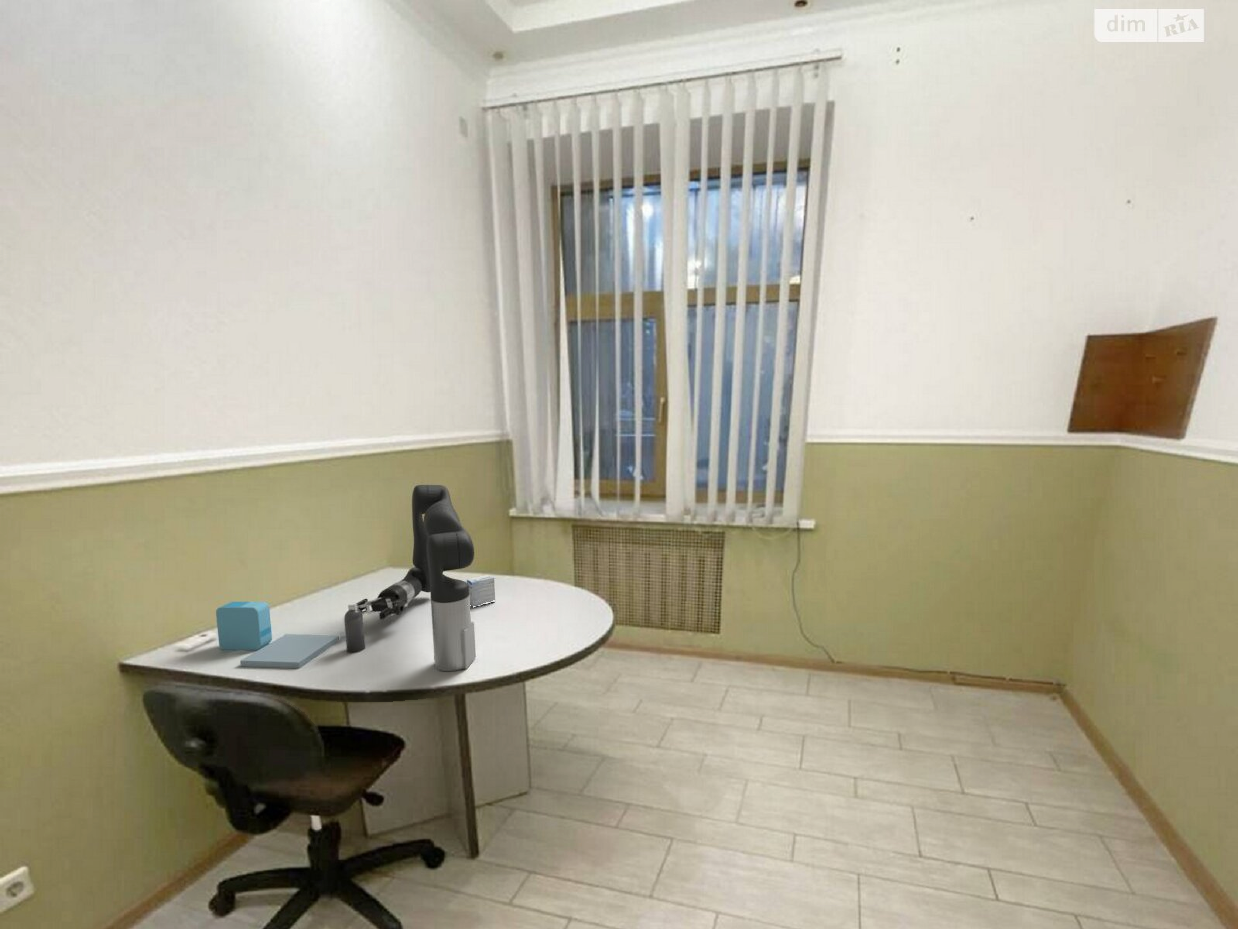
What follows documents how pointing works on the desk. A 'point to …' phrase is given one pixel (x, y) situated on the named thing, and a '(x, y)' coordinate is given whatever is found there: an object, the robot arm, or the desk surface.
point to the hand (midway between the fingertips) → (366, 616)
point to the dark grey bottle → (354, 629)
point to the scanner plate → (290, 651)
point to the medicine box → (481, 590)
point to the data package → (244, 625)
